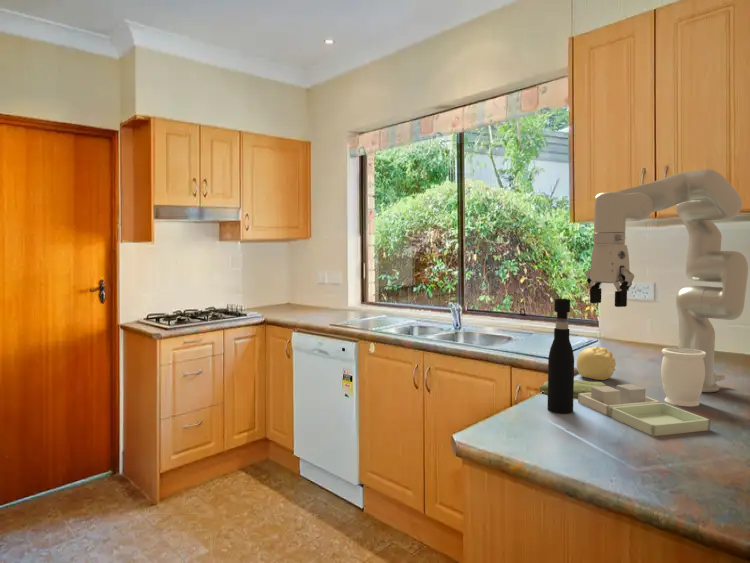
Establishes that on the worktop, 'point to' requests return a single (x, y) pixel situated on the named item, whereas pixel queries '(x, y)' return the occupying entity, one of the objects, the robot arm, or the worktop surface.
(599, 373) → the sculpture
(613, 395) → the stone cube
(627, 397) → the stone cube
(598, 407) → the off-white dish
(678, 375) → the jar
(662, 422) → the sage tray
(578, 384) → the washcloth
